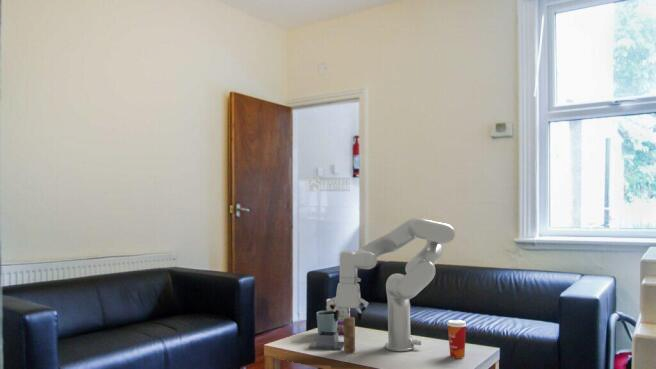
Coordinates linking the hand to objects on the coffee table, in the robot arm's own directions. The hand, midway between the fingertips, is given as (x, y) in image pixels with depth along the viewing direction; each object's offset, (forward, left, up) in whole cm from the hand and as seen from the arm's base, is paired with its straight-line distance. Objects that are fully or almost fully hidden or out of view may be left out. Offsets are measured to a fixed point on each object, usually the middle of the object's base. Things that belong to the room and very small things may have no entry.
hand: (347, 321), depth 210 cm
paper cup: (-45, -2, -13) cm, 46 cm away
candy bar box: (+10, -29, -13) cm, 34 cm away
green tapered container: (+13, -19, -13) cm, 27 cm away
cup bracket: (+10, -6, -13) cm, 18 cm away
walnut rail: (-1, 0, -13) cm, 13 cm away
